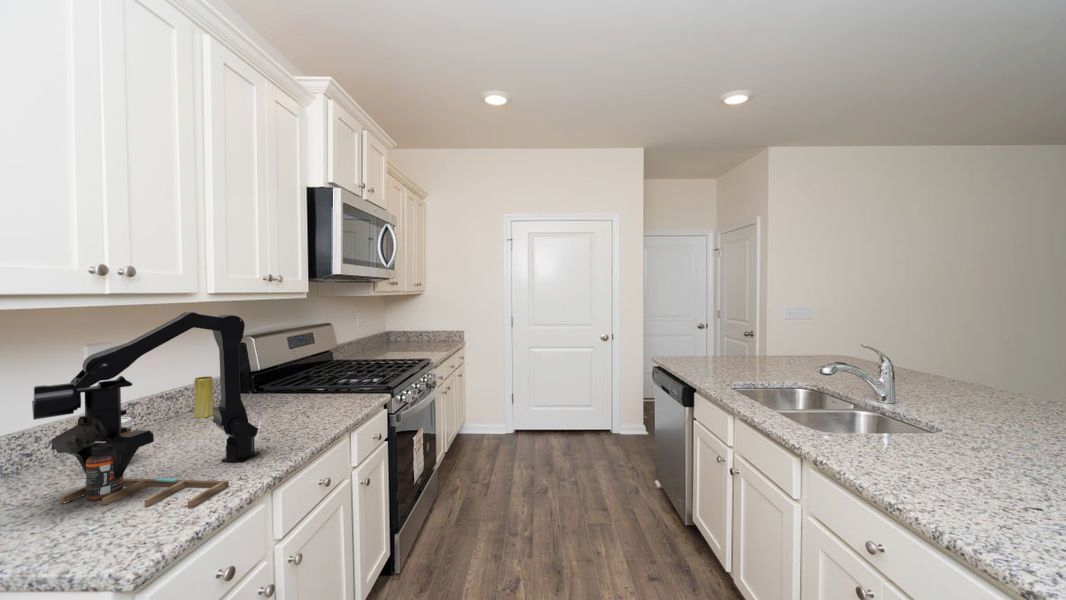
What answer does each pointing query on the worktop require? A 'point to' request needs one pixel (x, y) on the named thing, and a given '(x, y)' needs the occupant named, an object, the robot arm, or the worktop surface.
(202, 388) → the vase
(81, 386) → the robot arm
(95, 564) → the worktop surface
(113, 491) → the supplement bottle
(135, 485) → the notched rack
